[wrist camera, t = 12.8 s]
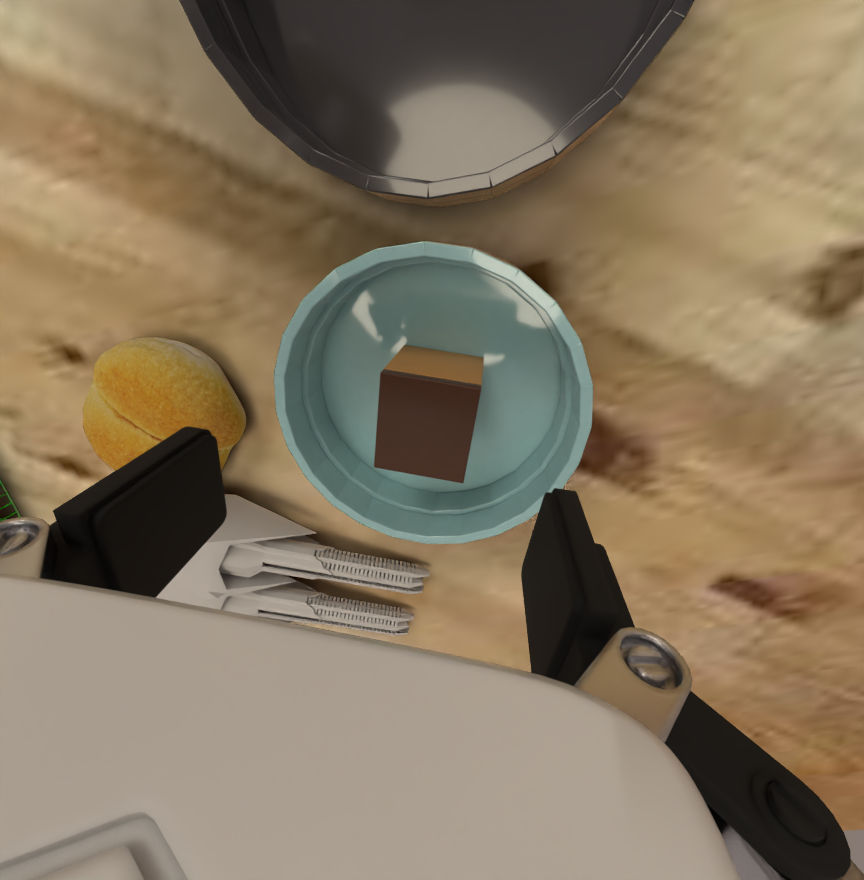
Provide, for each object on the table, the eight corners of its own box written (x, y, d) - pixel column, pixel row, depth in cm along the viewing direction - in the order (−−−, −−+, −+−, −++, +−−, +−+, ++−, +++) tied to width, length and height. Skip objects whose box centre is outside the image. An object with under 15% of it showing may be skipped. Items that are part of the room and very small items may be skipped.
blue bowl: (313, 475, 25) (281, 516, 21) (310, 223, 19) (264, 218, 15) (537, 516, 24) (544, 567, 20) (612, 265, 18) (644, 272, 14)
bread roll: (272, 391, 23) (231, 419, 19) (213, 491, 27) (171, 530, 23) (137, 297, 21) (67, 308, 18) (96, 417, 25) (31, 445, 22)
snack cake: (396, 424, 22) (373, 467, 18) (404, 344, 20) (380, 371, 16) (469, 436, 22) (463, 484, 17) (484, 357, 20) (481, 388, 16)
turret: (404, 617, 32) (401, 676, 28) (138, 574, 30) (91, 631, 25) (436, 521, 28) (438, 575, 24) (126, 460, 25) (66, 508, 21)
